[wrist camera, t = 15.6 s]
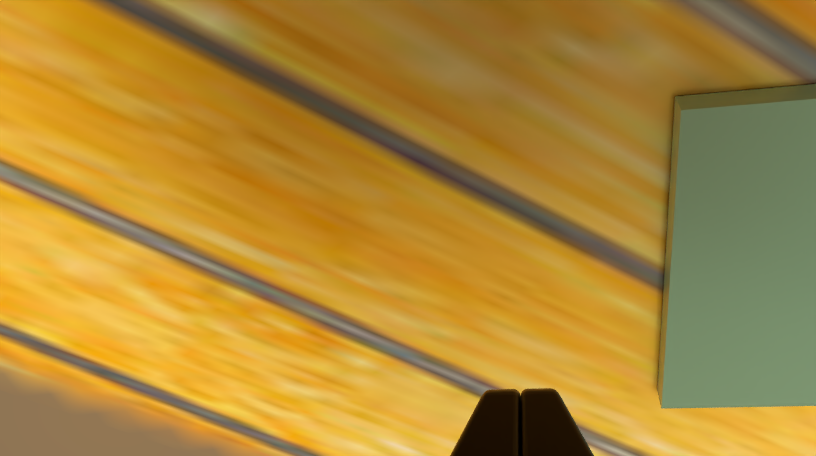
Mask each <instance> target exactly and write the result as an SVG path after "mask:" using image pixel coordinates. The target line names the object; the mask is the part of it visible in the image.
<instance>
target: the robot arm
mask: <svg viewBox="0 0 816 456" xmlns="http://www.w3.org/2000/svg"><path fill="white" fill-rule="evenodd" d="M450 456H594V455H593V453H592V452H591V450H590V448H589V446H588V444H587V443H586V441H585V439H584V437H583V436H582V434H581V432H580V430H579V428H578V427H577V425H576V423H575V421H574V420H573V418H572V416H571V414H570V413H569V411H568V409H567V407H566V405H565V404H564V402H563V400H562V398H561V397H560V395H559V393H558V392H557V391H556V390H554V389H551V388H546V389H525V390H523V391H522V393H521V396H520V393H519V392H518V391H517V390H515V389H501V390H487V391H486V392H485V393H484V394H483V395H482V397H481V399H480V400H479V402H478V404H477V406H476V408H475V410H474V412H473V414H472V416H471V417H470V419H469V421H468V423H467V425H466V427H465V429H464V431H463V433H462V434H461V436H460V438H459V440H458V442H457V444H456V446H455V448H454V450H453V452H452V453H451V455H450Z"/></svg>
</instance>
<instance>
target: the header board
mask: <svg viewBox="0 0 816 456" xmlns="http://www.w3.org/2000/svg"><path fill="white" fill-rule="evenodd" d="M657 391H658V395H659V400H660V404H661V408H714V407H771V406H816V84H809V85H798V86H786V87H775V88H764V89H752V90H741V91H730V92H718V93H707V94H696V95H685V96H675V105H674V121H673V138H672V155H671V171H670V188H669V205H668V221H667V238H666V255H665V271H664V288H663V305H662V322H661V338H660V355H659V372H658V388H657Z"/></svg>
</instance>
